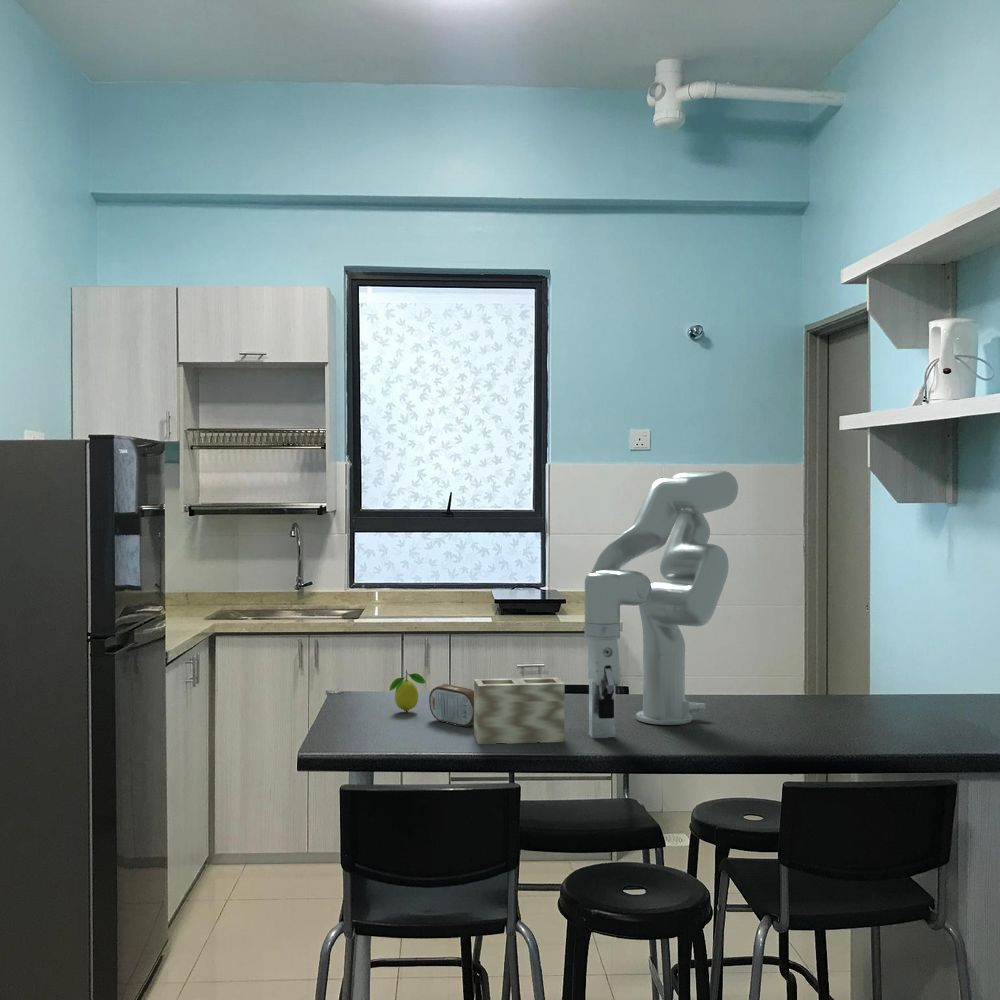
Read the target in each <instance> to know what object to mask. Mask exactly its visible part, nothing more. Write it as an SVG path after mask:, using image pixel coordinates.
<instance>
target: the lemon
mask: <svg viewBox="0 0 1000 1000" xmlns="http://www.w3.org/2000/svg"><path fill="white" fill-rule="evenodd" d="M408 676H409V677H410V678H411V680H412V681H414V682H415V683H417V684H426V681H425V678H424V677H423V676H422V675H421V674H419V673H410V674H409V673H408V671H407V669H406V670H405V676H404V677H397V678H395V679H394V680H393V681H392V682H391V684H390V686H389V691H393V690H394V689H395V692H394V701H395V704H396V706H397V707H398V708H399V709H401V710H403V712H404V711H408V712H409V711H410V710H411V709H414V708H415V707H416V706H417V704H418V701H419V693H418V689H417V687H416V684H414V682H412V681H410V680H409V679H408Z"/></svg>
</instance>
